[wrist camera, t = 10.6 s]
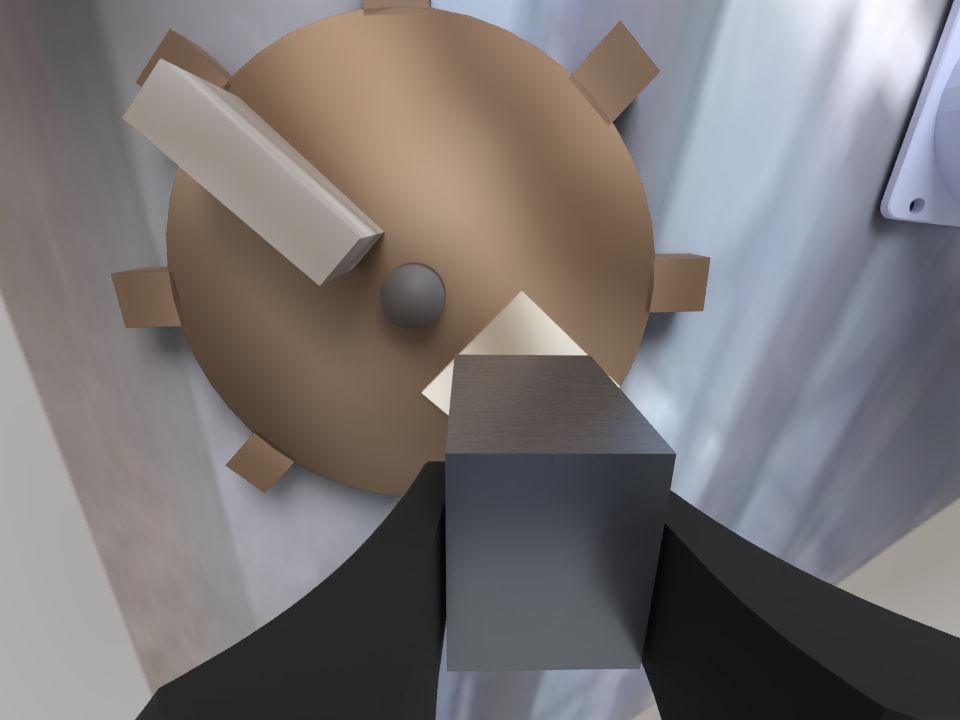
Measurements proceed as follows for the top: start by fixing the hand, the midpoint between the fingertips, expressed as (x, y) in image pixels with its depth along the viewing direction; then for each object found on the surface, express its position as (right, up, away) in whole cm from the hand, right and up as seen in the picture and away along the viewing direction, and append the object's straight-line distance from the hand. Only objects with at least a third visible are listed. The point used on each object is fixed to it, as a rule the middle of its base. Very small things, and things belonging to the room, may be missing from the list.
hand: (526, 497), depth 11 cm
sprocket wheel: (-3, +6, +6) cm, 9 cm away
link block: (0, +1, +2) cm, 2 cm away
